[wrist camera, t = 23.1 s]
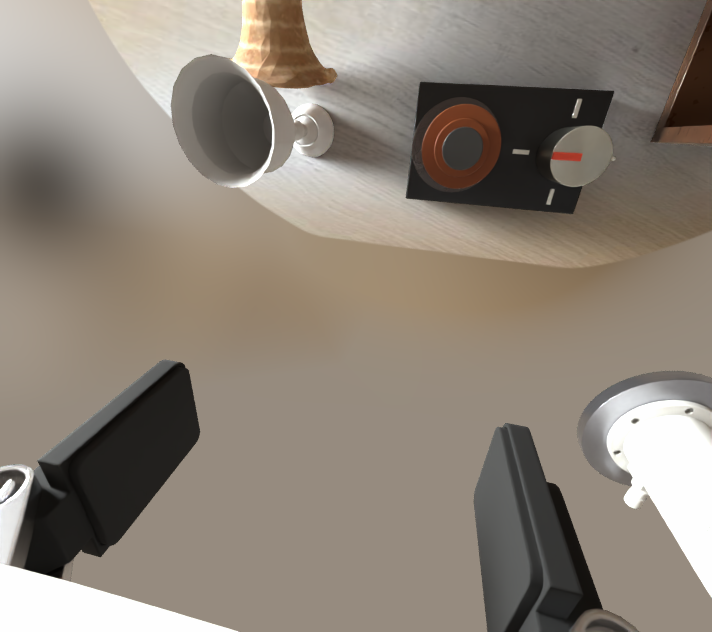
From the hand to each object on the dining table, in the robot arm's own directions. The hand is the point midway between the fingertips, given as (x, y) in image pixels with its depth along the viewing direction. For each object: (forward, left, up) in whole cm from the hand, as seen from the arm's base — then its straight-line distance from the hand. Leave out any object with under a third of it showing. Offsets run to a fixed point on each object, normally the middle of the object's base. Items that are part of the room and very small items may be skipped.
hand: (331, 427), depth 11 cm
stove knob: (+7, -13, -30) cm, 34 cm away
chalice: (+8, +11, -33) cm, 36 cm away
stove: (+7, -8, -33) cm, 35 cm away
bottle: (+7, -4, -30) cm, 31 cm away
